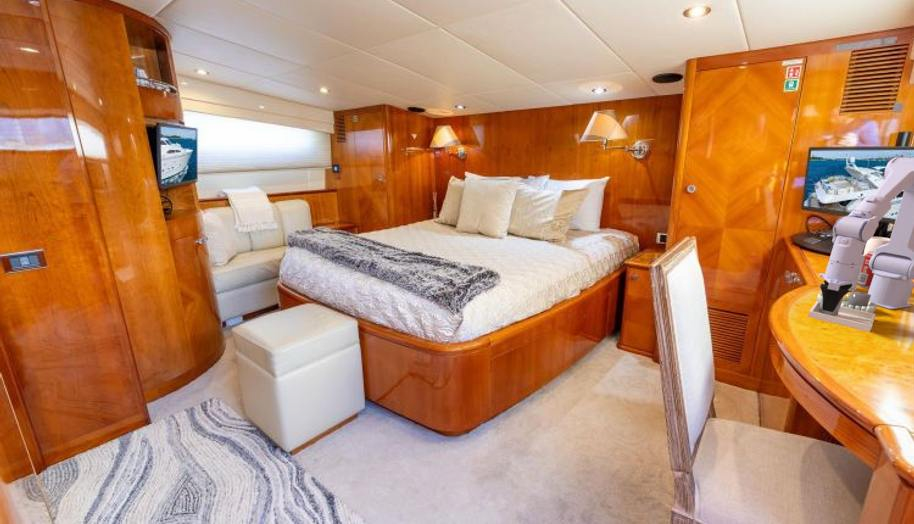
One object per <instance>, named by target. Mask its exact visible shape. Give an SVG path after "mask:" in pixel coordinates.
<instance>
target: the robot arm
mask: <svg viewBox="0 0 914 524" xmlns="http://www.w3.org/2000/svg"><path fill="white" fill-rule="evenodd" d="M902 192H903V194H902V198H901V201H900V205H899V208H898V211H897V215H896V218H895V221H894V224H893V228H892V231H891V235H890V241H889V243H887V244H884V245H881V246H879V247H877V248H876V249H875V251H874V254H873V255H872V257H871V259H870V261H869V267H870V269H871V270H873V271H872V273H874V276H873V279H872V282H871V285H870V288H869V289H868V292H867V294H870V295H871V297H870V301H872V302H874V303H875V304H876V305H877V307H882V308H885V309H888V310H895V309H902V308H903V309H904V308H908V307H911V306H912V304H909V300H910V298H911V295H912V292H913V289H914V157H900V156H895V157H893V158H891V159H890V160H889V161H888V162H887V164H886V166H885V169H884V180H883V181H882V183H881V185H880V186H878V189H876V191H875V192H874V194H873V195H869V196H866V197H864V198H863V199H862V200H861V201H860V202H859V203H858V204H857V205H856V206H855V207H854V209H853V210H852V211H851V212H850V213H849V214H848V215H845V216H843V217H840V218H838V219H837V220H836V222H835V224H834V225H833V227H832V235H833V236H832V240H831V242H832V243H833V245H832V249H831V253H830V256H829V259H828V263H827V266H826V269H825V272H823V273H821V272H820V273H818V277H819V278H823V279H824V280H823V282H824V283H820V286H819V287H820V290H821V291H820V292H822V295H823V304H822V308H823V310H825V311H829V312H833V311H834V310H835V308H836V307H837V305H838V303H839V301H840V300H841V299H842V297H843V296H844V297H846V295H847V294H849V292H850V291H849V290H848V289H850V288H851V287H852V285H853V284H852V283H854V281H855V280H854V277H855V274H856V271H857V268H858V265H859V262H860V259H861V256H862V255H863V254H864V249H865V246H866V243H867V241H868V240H869V239H870V238H872V237H874V234H875V233H876V230H877V228H878V227H879V222H880V221H881V220H882V219H883V217H885V215H886V214H888V212H889V211H890V210H891V209H892V203H891V202H892V201H893V200H894V199H895V198H896V197H897V196H899V195H900V194H901V193H902ZM844 297H843V298H844Z"/></svg>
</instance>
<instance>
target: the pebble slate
mask: <svg viewBox="0 0 914 524" xmlns="http://www.w3.org/2000/svg"><path fill="white" fill-rule="evenodd" d="M842 300H844V298H843V299H841V300H840V301H839V303H838V305H837V307H836V308H835V310H834V311H833V312H829V311H825V310H823V308H822V304H823V296H822V300H821V303H820V306H819V310H818V311H819V312H821V313H824V314H828V315H838V312H839V309H840V306H841V303H842Z"/></svg>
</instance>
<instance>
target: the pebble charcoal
mask: <svg viewBox="0 0 914 524" xmlns="http://www.w3.org/2000/svg"><path fill="white" fill-rule="evenodd" d="M849 294H850V298H849V301H848V304H847V307H848V306H849V305H853V306H854V307H853V309H855V307H856V306H860V307H861V308H862V306H865V307H867V306H868V303H869V300H870V297H871V295H870V294H868V292H863V291H858V290H854V291H850V293H849ZM861 308H860V311H861Z"/></svg>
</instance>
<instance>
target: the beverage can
mask: <svg viewBox="0 0 914 524" xmlns="http://www.w3.org/2000/svg"><path fill="white" fill-rule="evenodd" d="M873 254H874V252H868V253H867V254H866V255H864V256H865V259H864V262H863V265H862V269H861V272H860V276H859V279H858V283H857V285H858V286H857V287H859V288H862V289H865V290H869V288H870V285H871V282H872V279H873V276H874V273H872V271H873V270H871V269H870V267H869V261H870V259H871V257H872V255H873Z"/></svg>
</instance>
